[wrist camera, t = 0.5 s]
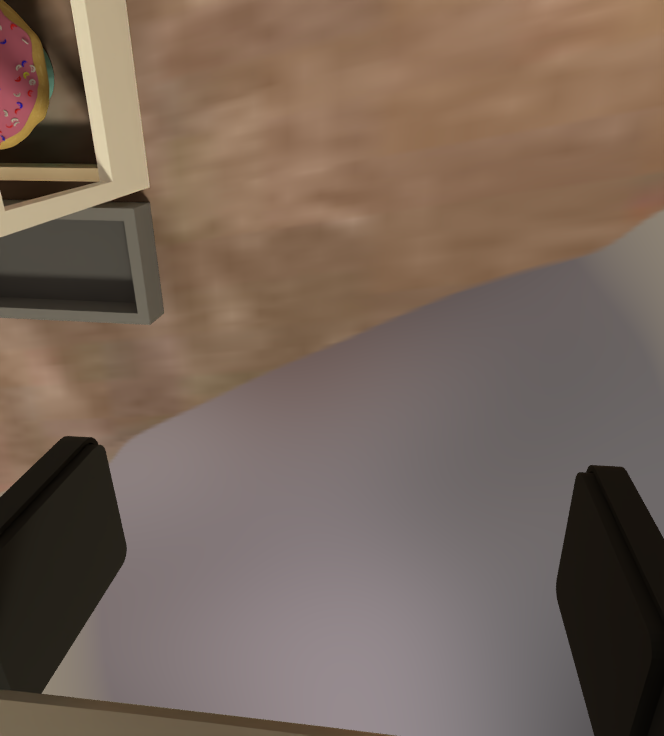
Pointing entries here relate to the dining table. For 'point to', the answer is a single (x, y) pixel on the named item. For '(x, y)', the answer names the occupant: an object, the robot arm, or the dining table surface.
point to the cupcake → (21, 78)
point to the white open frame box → (98, 119)
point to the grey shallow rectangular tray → (83, 267)
